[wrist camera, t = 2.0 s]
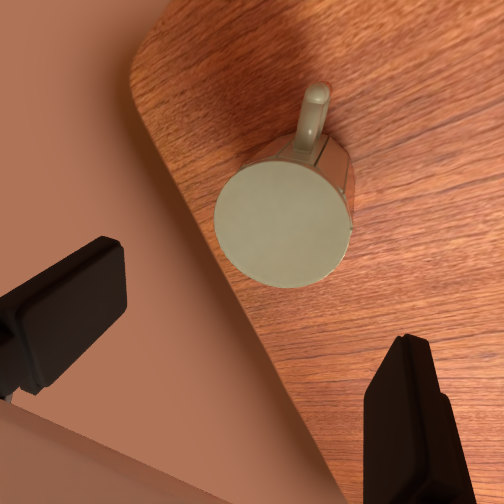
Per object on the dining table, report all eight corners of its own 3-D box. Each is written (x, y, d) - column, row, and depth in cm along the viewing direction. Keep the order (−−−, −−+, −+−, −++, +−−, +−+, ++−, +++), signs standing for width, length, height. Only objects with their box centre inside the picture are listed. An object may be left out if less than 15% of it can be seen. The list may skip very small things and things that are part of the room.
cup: (249, 213, 25) (208, 267, 18) (273, 69, 19) (227, 69, 13) (336, 237, 23) (326, 304, 17) (387, 91, 18) (401, 103, 12)
